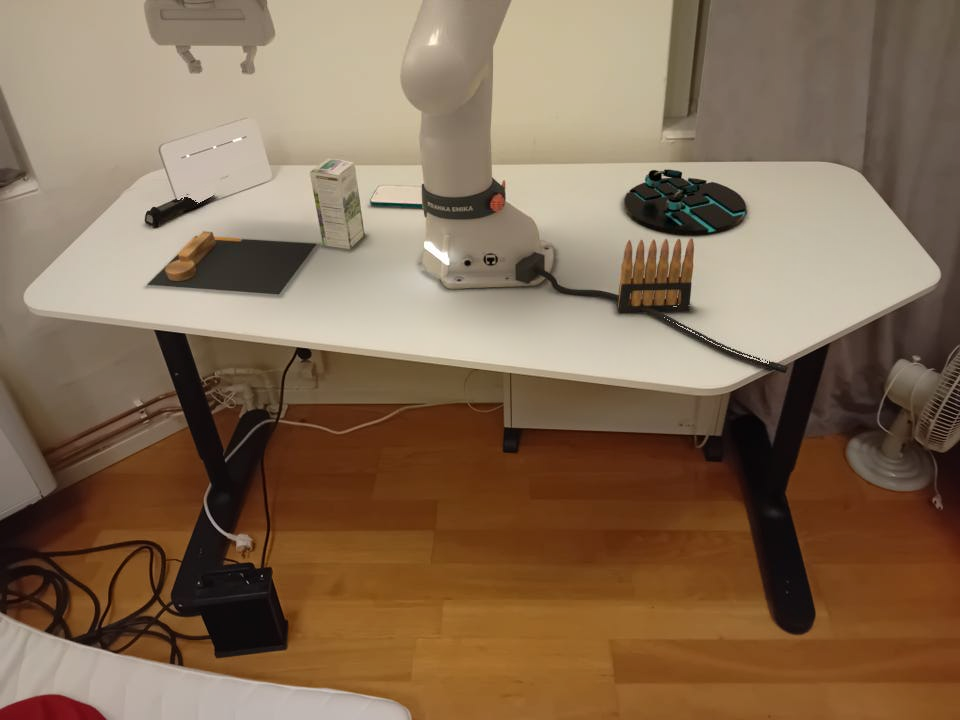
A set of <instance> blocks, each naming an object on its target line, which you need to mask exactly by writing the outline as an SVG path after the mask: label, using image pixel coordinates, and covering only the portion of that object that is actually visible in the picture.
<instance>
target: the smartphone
mask: <svg viewBox="0 0 960 720" xmlns="http://www.w3.org/2000/svg"><path fill="white" fill-rule="evenodd" d="M421 193H422V185H421V186H420V185H397V184H395V185H393V184H381V185H378V186H377V188H376V189H375V191H374V192H373V194H372V196H371V198H370V199H369V204H370V205H371V206H375V207H396V208H419V209H421V208H422V209H423V207H422V196H421Z"/></svg>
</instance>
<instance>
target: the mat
mask: <svg viewBox="0 0 960 720" xmlns="http://www.w3.org/2000/svg"><path fill="white" fill-rule="evenodd" d="M198 236H199V235H195V236H194V237H193V238H192V239H191V241H189V242H188V243H187V244H186V245H185V246H184V247H183V248H182V249H181V250H179V252H178V253H177V254H176V256H174V258H173V259H172V260H170V262H168V264H170V263H171V262H174V261H177V260H179V257H178V256H179V255H180V254H181V253H182V252H183V251H184V250H185V249H186V248H187V247H188V246H189V245H190V244H191V243H192V242H193V241H194V240H195V239H196V238H197V237H198ZM214 239H215V242H216V245H215V246H214V247H213V248H212V249H211V250H210V251H209V252H208V253H207V254H206V255H205V256H204V257H203V258H202V259H201V260H200V261H199V262H198V263H197V265H196V266H195V267H196V270H197V272H196V274H195V275H194V276H193V277H191V278H190V279H187V280H184V281H171V280H169V279H168V277H167V274H166V271H165V268H166V266H164V267H163V268H162V269H161V270H160V271H159V272H158V273H157V274H156V275H155V276H154V277H153V278H152V279H151V280H150V281H149V282H148V283H147V286H157V287H158V286H159V287H170V288H183V289H185V288H186V289H196V290H197V289H199V290H210V291H224V292H225V291H226V292H237V293H238V292H239V293H253V294H264V295H277V296H278V295H280V294H281V293H282V291H283V290H284V289H285V288H286V286H287V284H289V282H290V281H291V280H292V278H293V277H294V276H295V274H296V273H297V272H298V270H299V269H300V268H301V267H302V265H303V263H305V261H306V260H307V258H308V257H309V256H310V254H311V253H312V252H313V250H314V249H315V247H316V246H317V245H318V243H315V242H299V241H298V242H297V241H296V242H295V241H281V240H263V239H247V238H238V237H221V236H214Z"/></svg>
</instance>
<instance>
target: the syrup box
mask: <svg viewBox="0 0 960 720" xmlns="http://www.w3.org/2000/svg"><path fill="white" fill-rule="evenodd" d="M355 164H356V163H354V162H352V161H348V160H345V159H337V158H326V159H324V160H323V161H322V162H321V163H320V164H318V165H316V167H314V168H313V169H312V170H310V172H309V176H310V182H311V187H312V193H313V199H314V204H315V209H316V215H317V219H318V220H317V221H318V226H319V231H320V236H321V241H322V242H321V243H322V245H323V246H325V247H326V246H327V247H334V248H341V249H349V250H350V249H352V248H353V247H354V246H355V245H356V244H357V243H358V242H359V241H361V239H362V238H364V236H365V227H364V220H363V212H362V206H361V197H360V192H359V185H358V177H357V171H356V165H355Z"/></svg>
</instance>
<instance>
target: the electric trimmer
mask: <svg viewBox="0 0 960 720" xmlns="http://www.w3.org/2000/svg"><path fill="white" fill-rule="evenodd" d="M214 196H215V195H213V196H212V197H210V198H208V199H206V200H204V201H202V202H200V203H198V202H195V201H196V200H195V201H194V200H192V199H191V198H188V197H184V199H183V198H181V199H180V200H177V198H173V199H171V200H170V201H168V202H165V203H163V204H161V205H159V206H152V207H151V208H150V209H149V210H147V211H146V213H145V215H144V223H145V225H146V226H148V227H151V228H154V227H159V226H160V225H161V222H164V221H166V220H169V218H171V217H174V216H176V215H178V214H180V213H182V212H185V211H186V210H193V209H194V208H196V207H199V206H200V205H202V204H203V203H205V202H206V201H208V200H210V199H211V198H213V197H214ZM182 199H183V200H182ZM197 203H198V204H197Z"/></svg>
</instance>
